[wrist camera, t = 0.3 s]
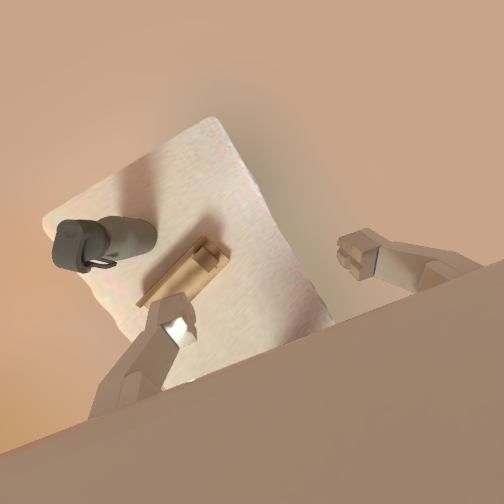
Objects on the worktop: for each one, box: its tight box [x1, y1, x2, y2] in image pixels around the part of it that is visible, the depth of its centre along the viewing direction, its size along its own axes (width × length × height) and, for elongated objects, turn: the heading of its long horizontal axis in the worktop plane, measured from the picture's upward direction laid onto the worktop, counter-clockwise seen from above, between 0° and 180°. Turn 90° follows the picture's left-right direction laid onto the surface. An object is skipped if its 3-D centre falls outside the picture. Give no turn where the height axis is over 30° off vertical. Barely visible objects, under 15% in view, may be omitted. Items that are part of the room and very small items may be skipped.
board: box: [136, 236, 230, 309], centre depth 60 cm, size 11×26×4 cm, turn 135°
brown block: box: [192, 246, 219, 273], centre depth 58 cm, size 7×4×5 cm, turn 45°
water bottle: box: [52, 216, 157, 274], centre depth 45 cm, size 10×10×28 cm
